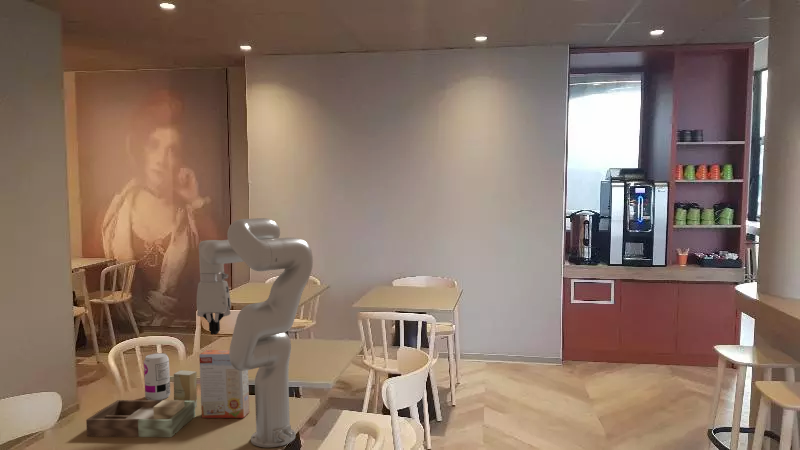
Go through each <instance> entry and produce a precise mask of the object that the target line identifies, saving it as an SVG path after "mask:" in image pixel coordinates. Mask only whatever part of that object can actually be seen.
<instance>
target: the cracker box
mask: <svg viewBox="0 0 800 450" xmlns="http://www.w3.org/2000/svg"><path fill="white" fill-rule="evenodd" d="M229 350H230V349H206V350H204V351H202V352H201V353H199V379H200V380H199V382H200V384H199V385H200V403H201V405H200V406H201V408H200V409H201V418H202V419H243V418H245V417H246V416H248V414H249V413H250V394H249V393H250V392H249V370H246V371H240V370H237V369H235V368H234V367H233V366H232V364H231V362H230V357H229Z"/></svg>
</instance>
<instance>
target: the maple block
mask: <svg viewBox="0 0 800 450" xmlns="http://www.w3.org/2000/svg"><path fill="white" fill-rule="evenodd" d="M183 407H185V405H184V400H174V399H173V400H172V399H169V400H168V399H163V400H162V401H161V402H160V403H158V404H157V405H155V406H154V407H153V409H154V419H170V418H171V417H172V416H174V415H175V414H176V413H177V412H179V411H180V410H181V409H182V408H183Z"/></svg>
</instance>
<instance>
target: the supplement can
mask: <svg viewBox="0 0 800 450" xmlns="http://www.w3.org/2000/svg"><path fill="white" fill-rule="evenodd" d="M143 373H144V374H143V375H144V379H143V380H144V398H145V400H167V399H168V398H169V396H170V395H171V381H170V379H171V378H170V374H171V373H170V358H169V356H168V355H167V353H164V352H160V353H159V352H157V353H152V354H151V353H150V354H148V355H146V356H145V357H144V360H143Z"/></svg>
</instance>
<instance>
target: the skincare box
mask: <svg viewBox="0 0 800 450" xmlns="http://www.w3.org/2000/svg"><path fill="white" fill-rule="evenodd" d="M197 377H198V376H197V371H196V370H195V371H192V370H181V369H180V370H178V371H177V372H175V373H173V400H184V401H195V408H197V407H198V401H197V400H198V398H197V397H198V395H197V394H198V390H197V386H198V385H197V384H198V383H197V382H198V381H197V380H198V379H197Z"/></svg>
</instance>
